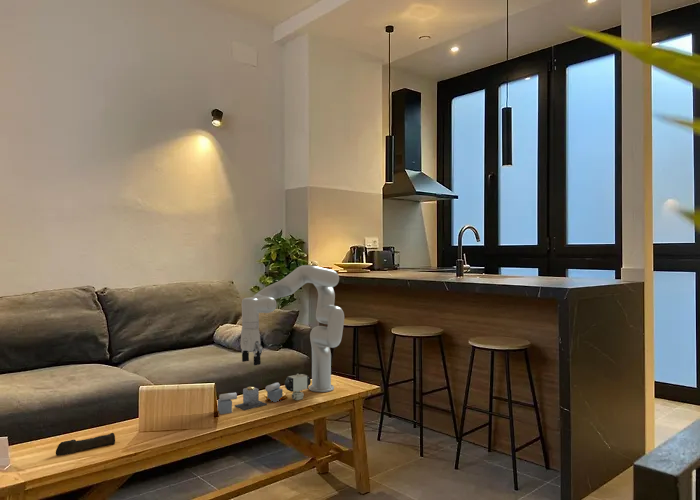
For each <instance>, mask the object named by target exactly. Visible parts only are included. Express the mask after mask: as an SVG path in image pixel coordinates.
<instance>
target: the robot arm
mask: <svg viewBox="0 0 700 500" xmlns="http://www.w3.org/2000/svg"><path fill="white" fill-rule="evenodd" d="M339 281H340V276H339V273H338V272H337V271H336V270H333V269H331V268H330V269H329V268H324V267H321V266H318V265H311V264H310V265H307V264H305V265H304V264H303V265H300V266H298V267H296V268H295V269H294V270H292V271H291V272H290V273H289V274H287V275H286V276H285V277H283V278H282V279H280V280H277V281H276V282H273V283H272V284H269V285H267V286H265V287H264V288H262V289H260V290H259V291H258V292H256V293H255V294H254V295H253V296H251V297H244V298H242V300H241V332H240V341H239V345H240V350H241V361H242V362H243V363H245V362H249V361H250V352H251V353H253V365H254V366H259V365H261V362H262V361H261V356H262V353H263V352H262V351H263V348H264V347H263V345H262V344H261V334H260V314H261V313H263V314H269V313H272V312H274V311H275V310H276V309H277V301H276V300H277V299H279V298H284V297H288V296H291V295H293V294H294V293H296V291H298V290H299V289H300V288H301V287H303V286H304V285H306V284H312V285H313V286H314V287H315V288H316V290H317V305H316V312H315V320H316V321H317V322H318V323H320V324H324V325H327V326H323V325H317V326H314V327H313V328H312V329H311V330H310V333H309V339H310V340H309V341H310V345H311V384H310V385H309V387H308V390H309V391H311V392H315V393H327V392H331V391H334V389H335V386H334V385H333V384H332V367H331V366H332V353H331V348H332V349H334V348H337V347H338V346H340V344H341V342H342V338H343V330H344V324H345V312H344V311H343V309H342V307H340V306H338V305H335V301H336V299H335V298H336V293H335V290H334V287H336V286H337V285H338V284H339Z"/></svg>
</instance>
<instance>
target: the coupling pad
mask: <svg viewBox="0 0 700 500" xmlns="http://www.w3.org/2000/svg"><path fill="white" fill-rule="evenodd" d="M264 406H268V403H266V402H263V401H262V400H259V404H258V405H254V406H250V407H249V406H246V405H244V404H243V402H242V403H237V404H234V408H237V409H240V410H242V411H247V410H248V411H249V410H251V409H256V408H259V407H264Z"/></svg>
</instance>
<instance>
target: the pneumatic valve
mask: <svg viewBox="0 0 700 500" xmlns="http://www.w3.org/2000/svg"><path fill="white" fill-rule="evenodd" d="M311 384H312V379H311V378H310V376H309V375H307V374H305V373H300V374H299V373H296V374H294V375H288V376H286V380H284V387H285V389H286V390H287V391H289V392H292V394H291V398H292V400H295V401H300V400H303V399H304V396H305V394H304V392H303V391H304V390H309V386H311Z"/></svg>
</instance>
